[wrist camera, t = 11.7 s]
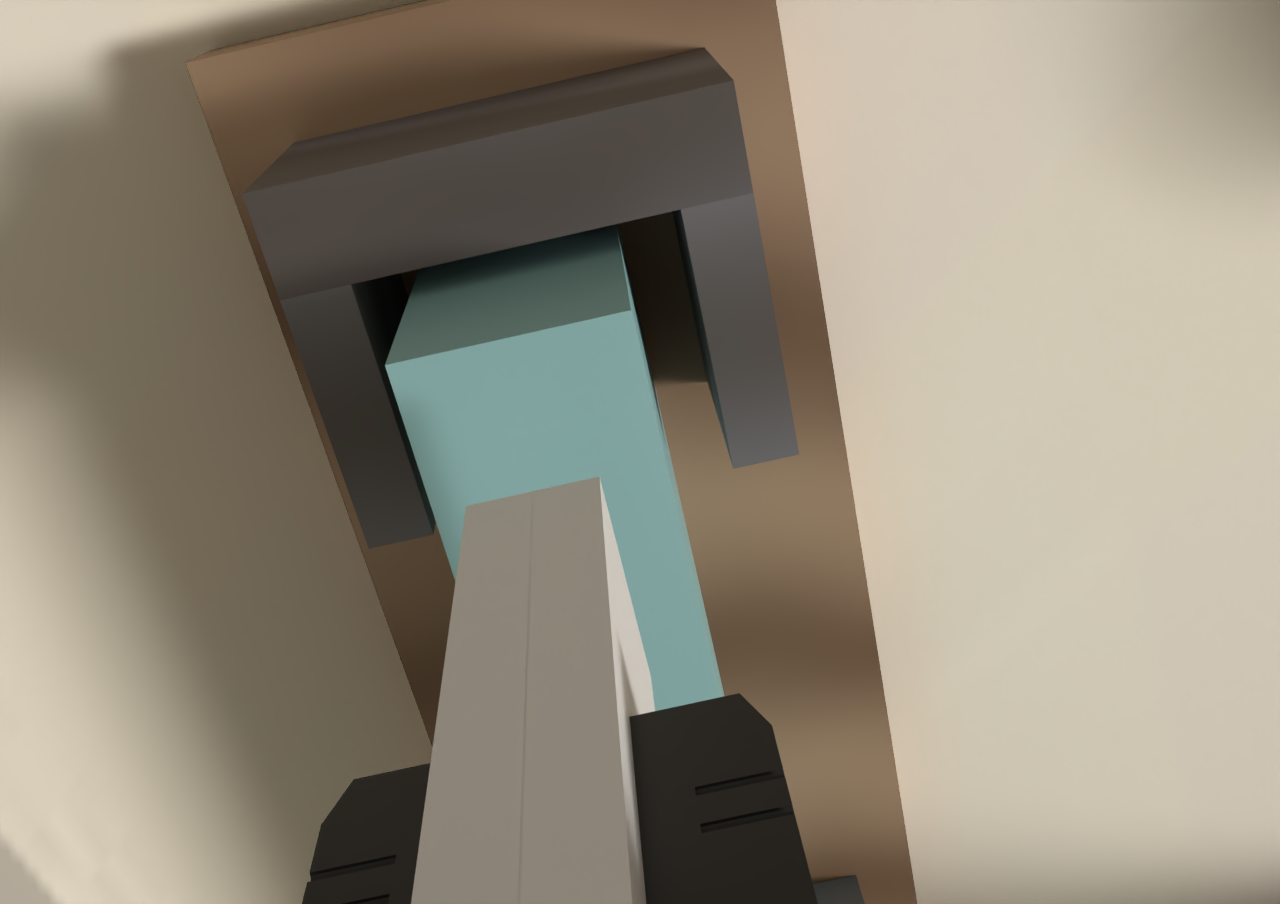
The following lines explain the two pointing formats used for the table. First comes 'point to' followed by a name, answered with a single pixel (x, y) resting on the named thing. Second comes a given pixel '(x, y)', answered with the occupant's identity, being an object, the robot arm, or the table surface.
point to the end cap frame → (666, 302)
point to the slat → (554, 420)
